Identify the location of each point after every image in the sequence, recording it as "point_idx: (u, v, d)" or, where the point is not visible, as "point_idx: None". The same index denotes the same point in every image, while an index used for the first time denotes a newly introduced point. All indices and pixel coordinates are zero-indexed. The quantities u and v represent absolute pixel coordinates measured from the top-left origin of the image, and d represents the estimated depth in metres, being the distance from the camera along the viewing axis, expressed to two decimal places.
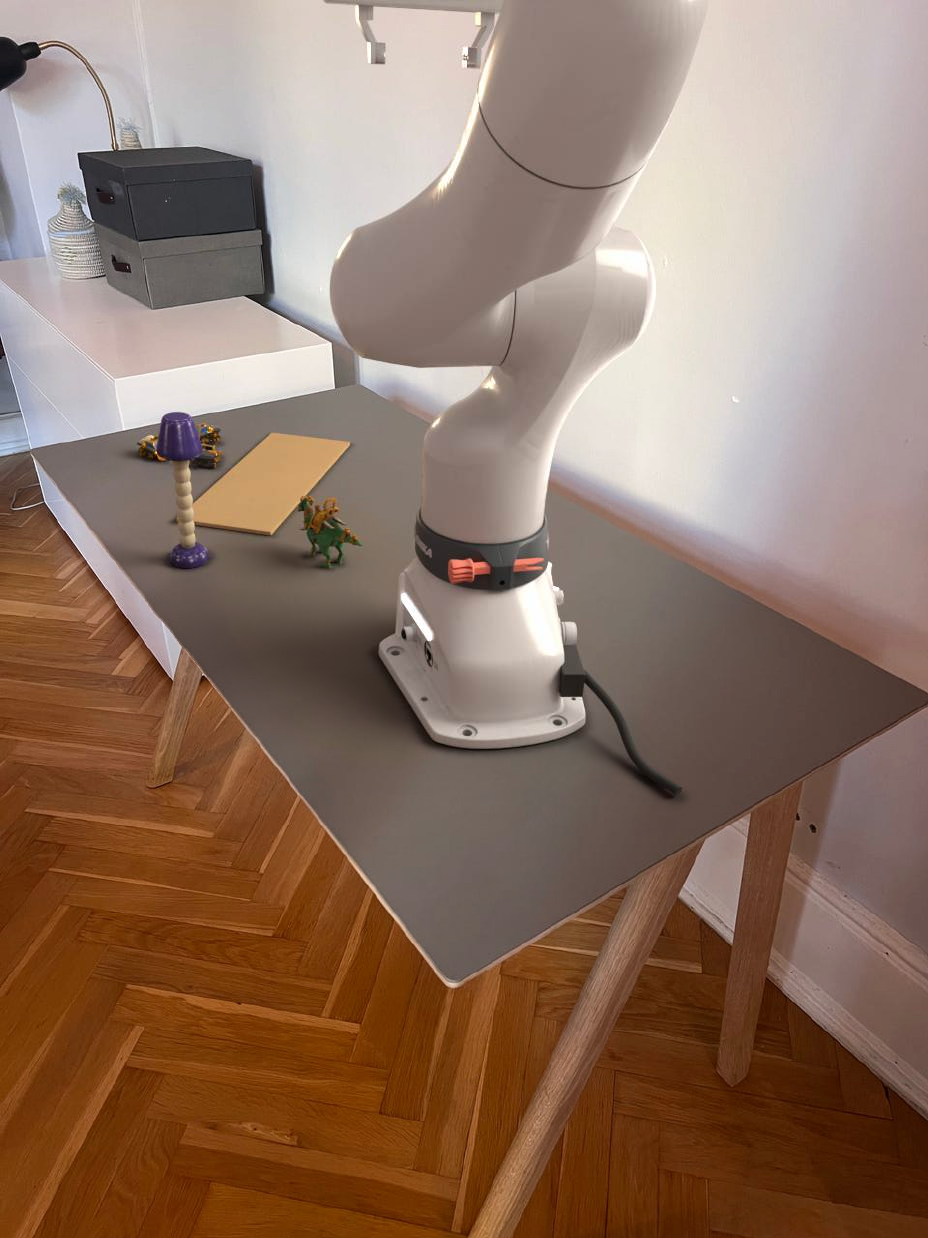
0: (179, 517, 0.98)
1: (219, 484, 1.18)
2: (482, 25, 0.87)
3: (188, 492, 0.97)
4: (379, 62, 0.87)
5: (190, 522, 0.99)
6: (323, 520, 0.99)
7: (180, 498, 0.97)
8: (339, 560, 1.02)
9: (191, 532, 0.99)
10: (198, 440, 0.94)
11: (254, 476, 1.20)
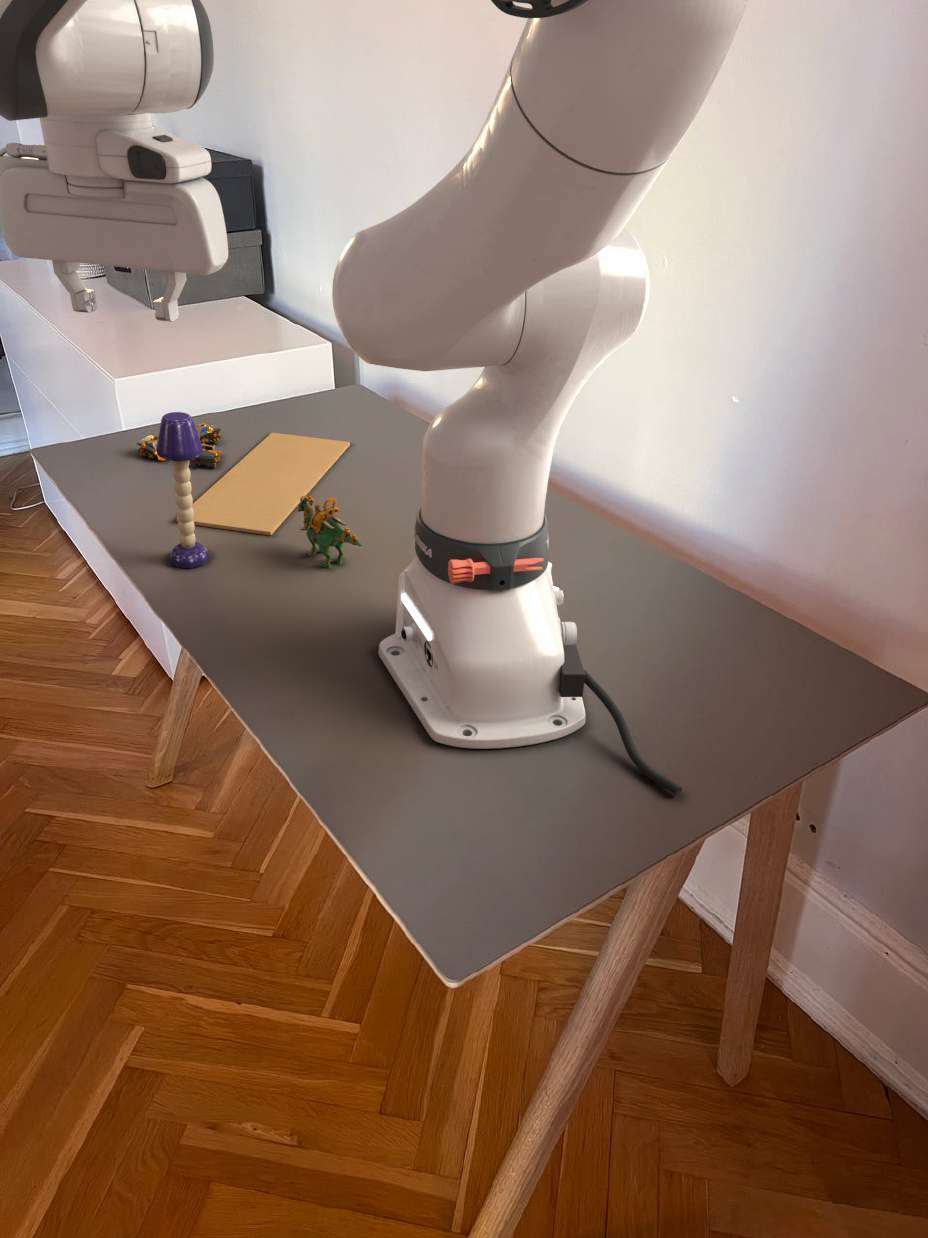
0: (179, 517, 0.98)
1: (219, 484, 1.18)
2: (163, 282, 0.81)
3: (188, 492, 0.97)
4: (82, 311, 0.85)
5: (190, 522, 0.99)
6: (323, 520, 0.99)
7: (180, 498, 0.97)
8: (339, 560, 1.02)
9: (191, 532, 0.99)
10: (198, 440, 0.94)
11: (254, 476, 1.20)
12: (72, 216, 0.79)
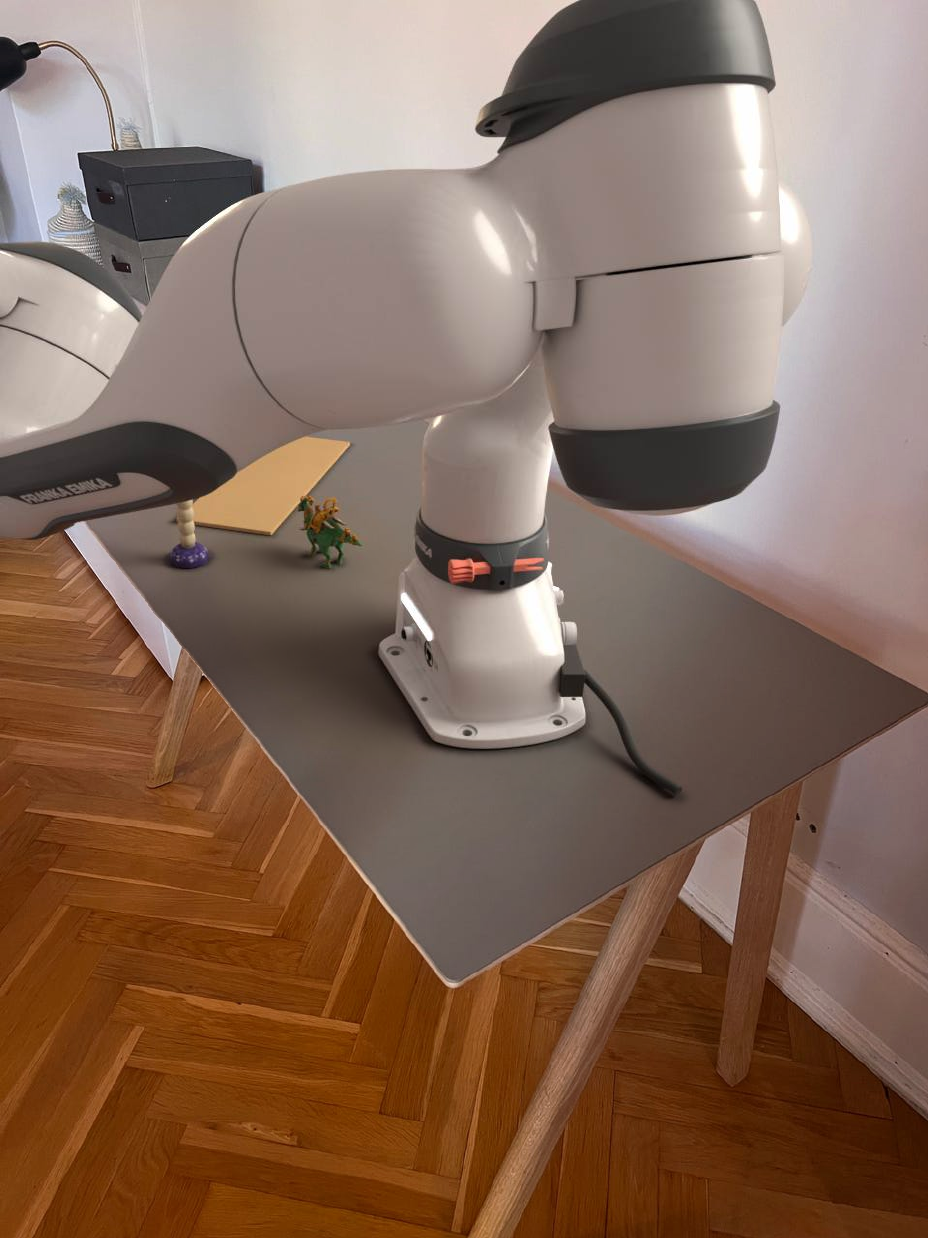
0: (179, 517, 0.98)
1: None
2: None
3: None
4: None
5: (190, 522, 0.99)
6: (323, 520, 0.99)
7: None
8: (339, 560, 1.02)
9: (191, 532, 0.99)
10: None
11: (254, 476, 1.20)
12: None
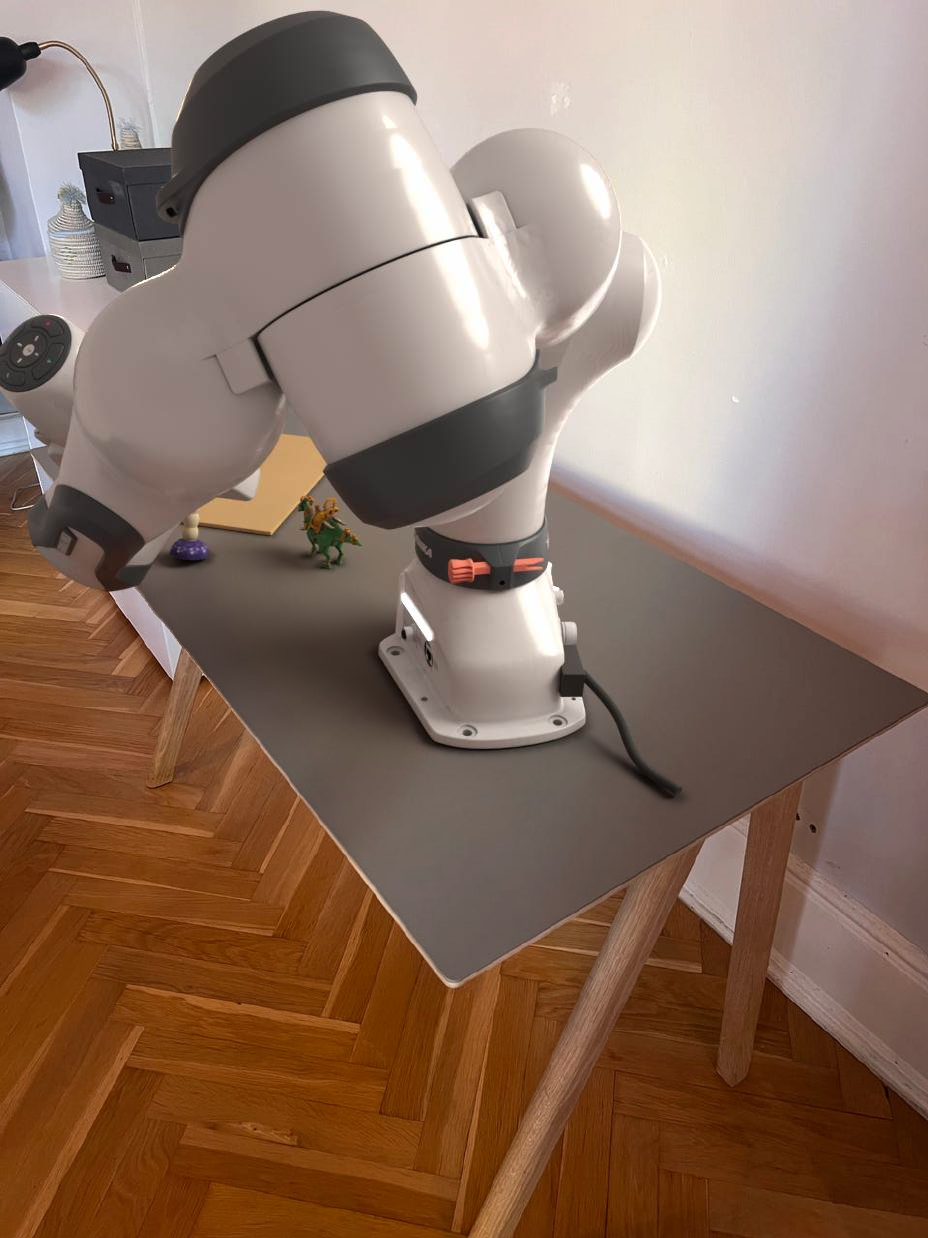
0: None
1: None
2: None
3: None
4: None
5: (196, 514, 0.99)
6: (323, 520, 0.99)
7: None
8: (339, 560, 1.02)
9: (195, 524, 1.00)
10: None
11: None
12: None
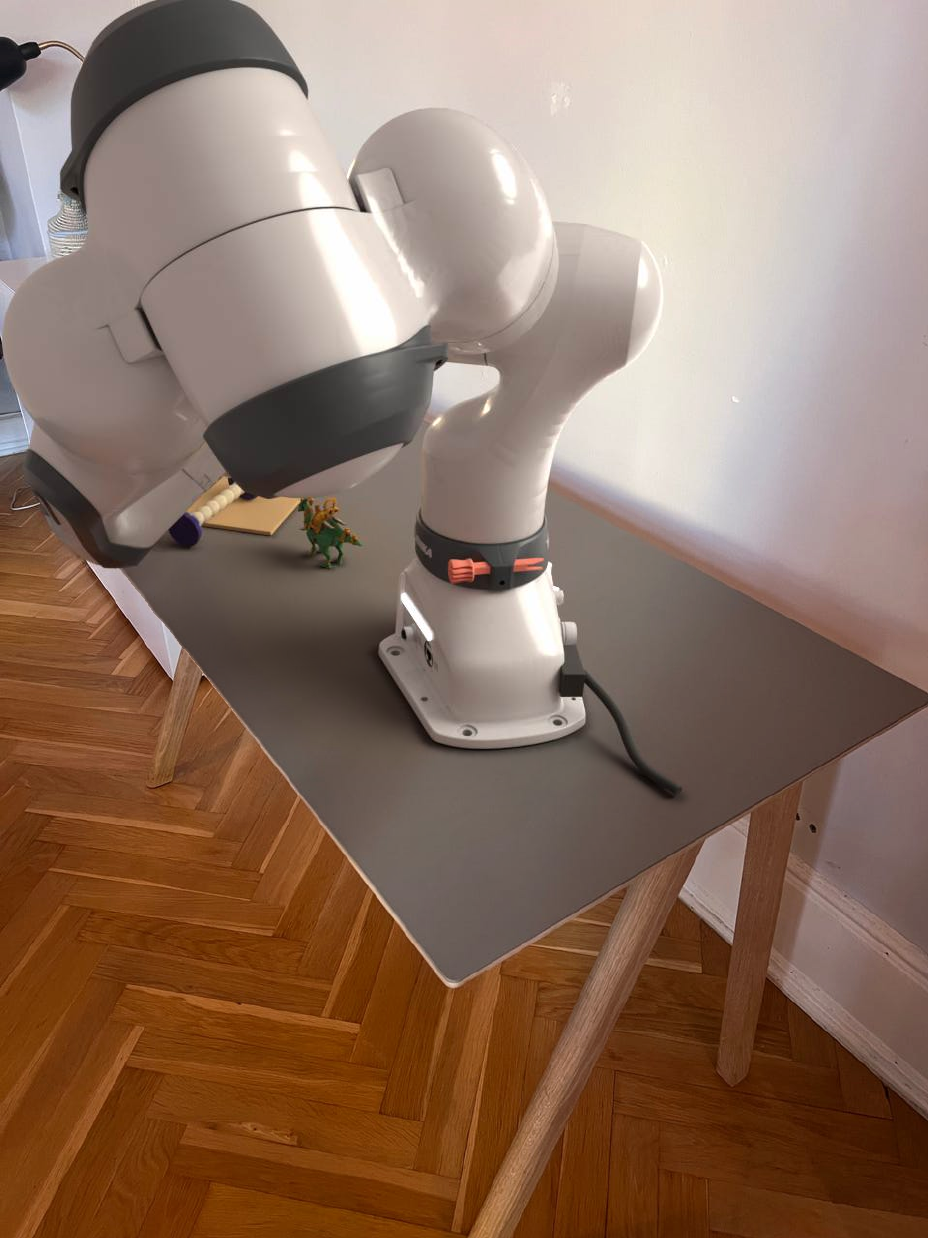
0: None
1: (219, 484, 1.18)
2: None
3: (224, 492, 1.09)
4: None
5: (207, 506, 1.06)
6: (323, 520, 0.99)
7: None
8: (339, 560, 1.02)
9: (201, 509, 1.05)
10: None
11: None
12: None
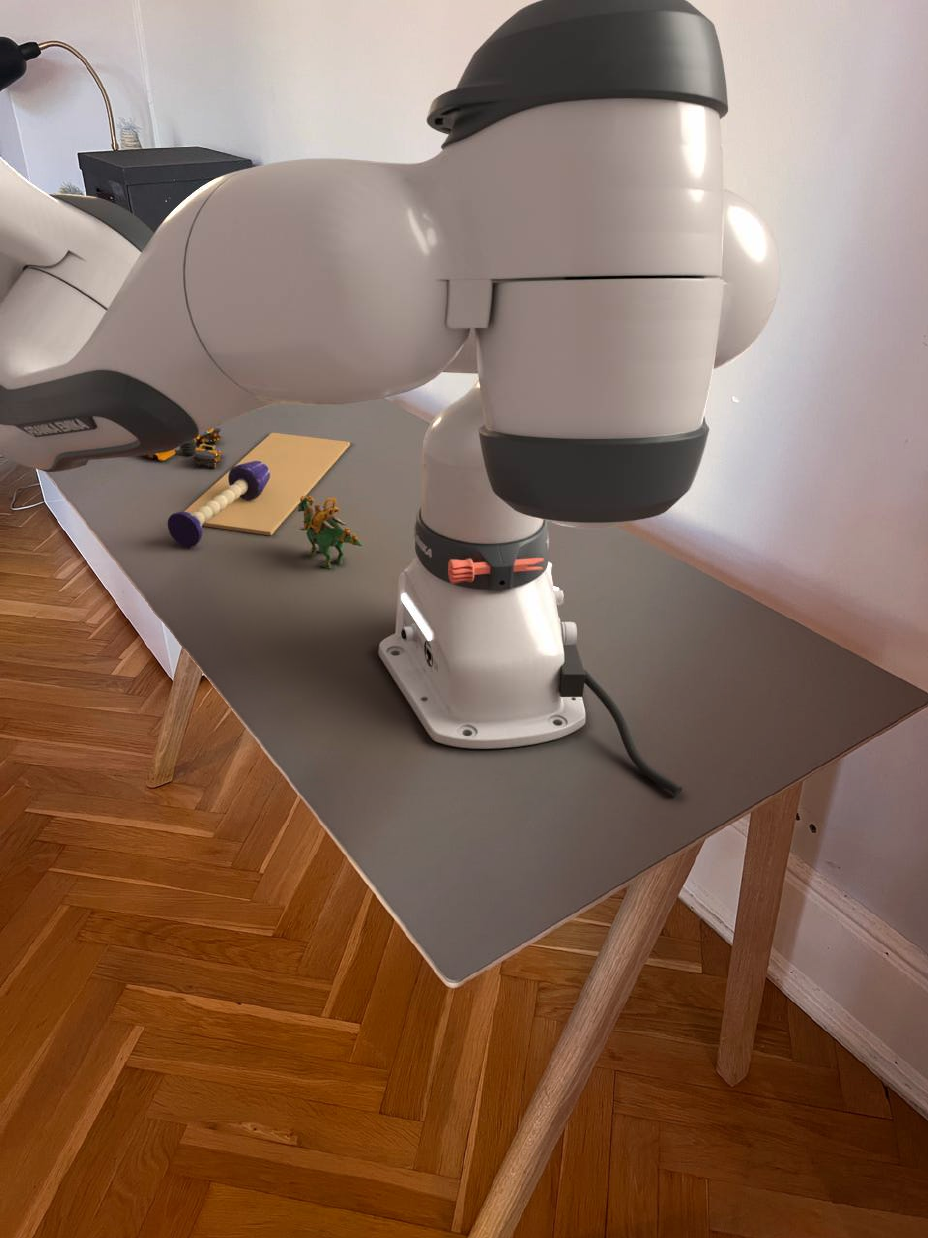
0: (204, 506, 1.07)
1: (219, 484, 1.18)
2: None
3: (225, 493, 1.09)
4: None
5: (208, 506, 1.06)
6: (323, 520, 0.99)
7: None
8: (339, 560, 1.02)
9: (201, 509, 1.05)
10: (260, 470, 1.13)
11: None
12: None
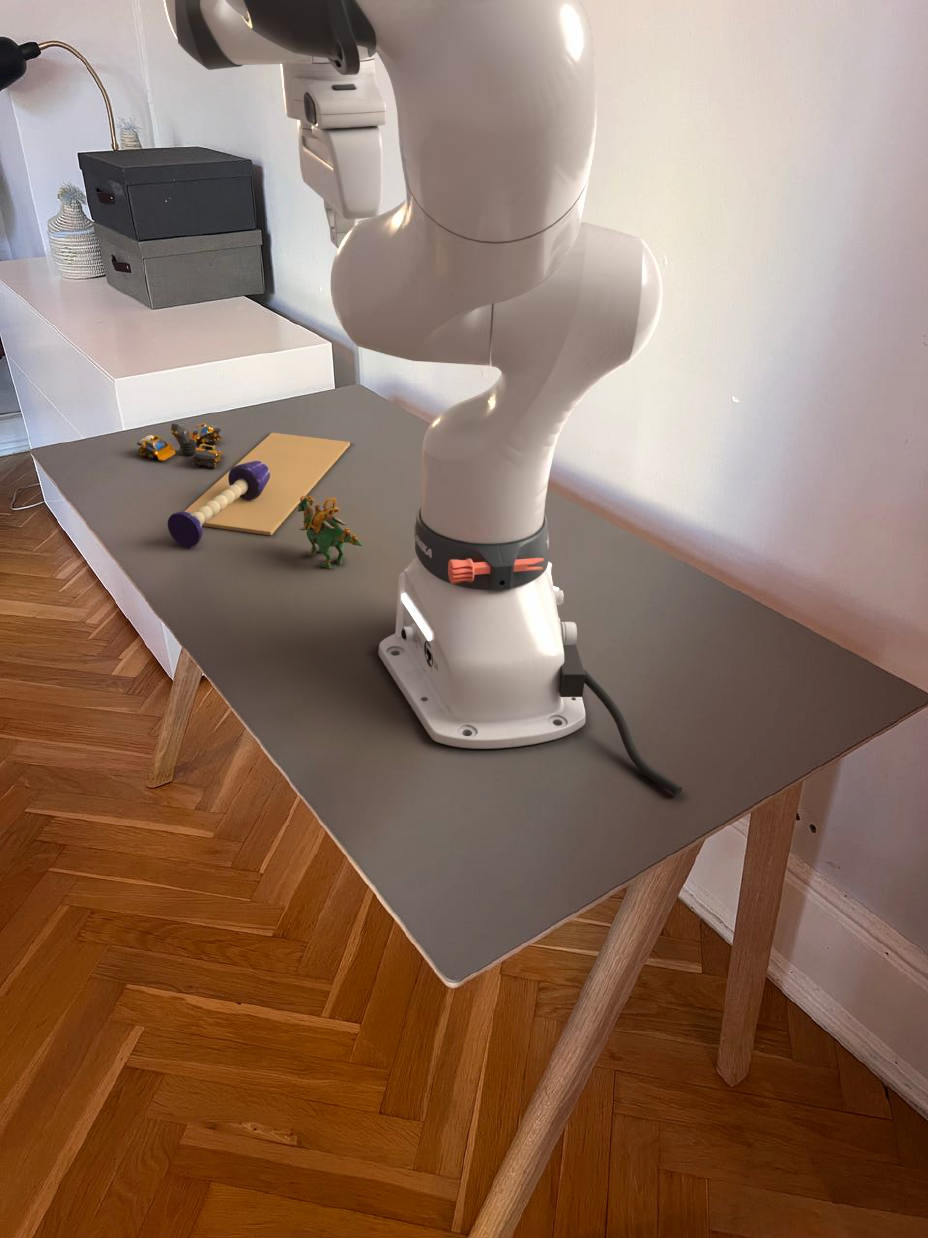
0: (204, 506, 1.07)
1: (219, 484, 1.18)
2: (332, 213, 0.92)
3: (225, 493, 1.09)
4: (334, 244, 0.95)
5: (208, 506, 1.06)
6: (323, 520, 0.99)
7: None
8: (339, 560, 1.02)
9: (201, 509, 1.05)
10: (260, 470, 1.13)
11: None
12: (312, 152, 0.92)
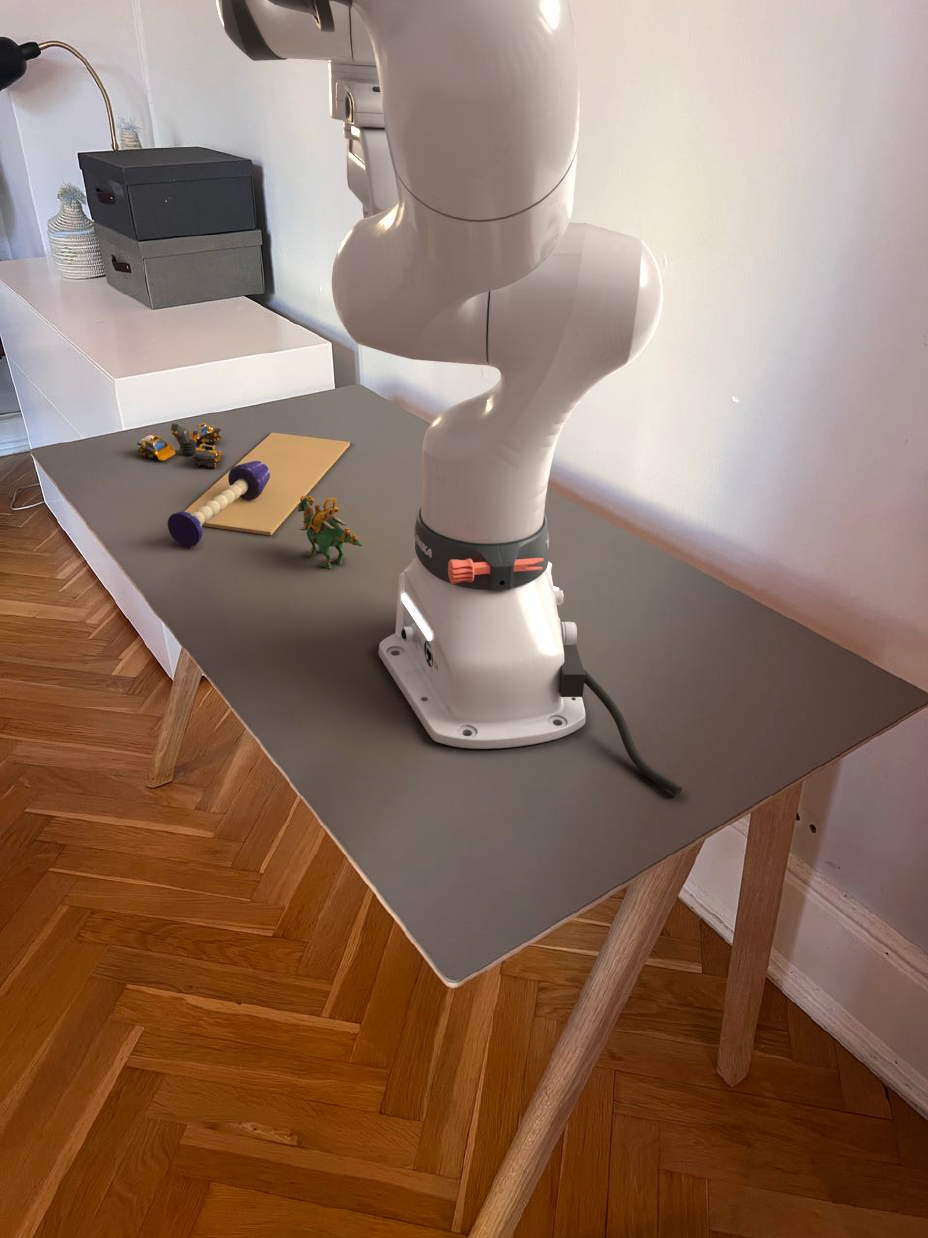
0: (204, 506, 1.07)
1: (219, 484, 1.18)
2: (367, 215, 0.93)
3: (225, 493, 1.09)
4: None
5: (208, 506, 1.06)
6: (323, 520, 0.99)
7: None
8: (339, 560, 1.02)
9: (201, 509, 1.05)
10: (260, 470, 1.13)
11: None
12: (355, 156, 0.93)
